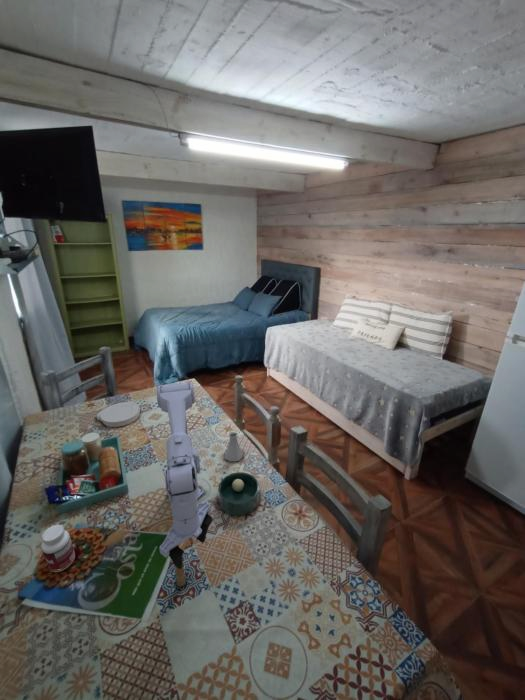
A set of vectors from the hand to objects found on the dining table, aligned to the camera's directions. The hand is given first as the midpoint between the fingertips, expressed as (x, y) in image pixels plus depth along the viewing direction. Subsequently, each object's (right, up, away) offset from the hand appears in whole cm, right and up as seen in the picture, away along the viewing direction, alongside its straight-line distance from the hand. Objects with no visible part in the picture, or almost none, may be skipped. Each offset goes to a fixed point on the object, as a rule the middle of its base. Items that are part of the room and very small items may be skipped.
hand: (189, 552), depth 76 cm
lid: (-50, +17, +73) cm, 90 cm away
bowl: (+10, 0, +28) cm, 30 cm away
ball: (+9, +3, +30) cm, 32 cm away
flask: (+6, +7, +48) cm, 49 cm away
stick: (-3, -10, +3) cm, 11 cm away
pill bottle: (-36, -8, +8) cm, 38 cm away
